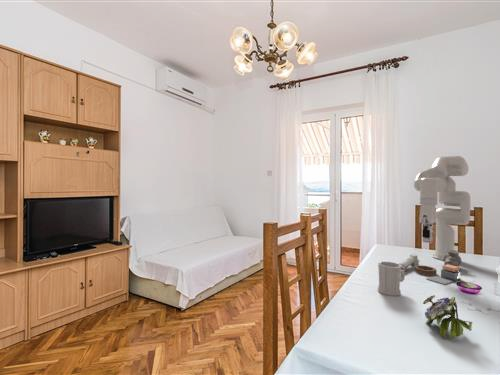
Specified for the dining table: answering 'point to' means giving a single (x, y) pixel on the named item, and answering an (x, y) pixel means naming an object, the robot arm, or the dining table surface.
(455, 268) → the orange square block
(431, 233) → the pill bottle
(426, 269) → the sleeve
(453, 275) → the block
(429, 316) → the passion flower
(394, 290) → the cup
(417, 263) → the white electric toothbrush
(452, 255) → the pipe fitting
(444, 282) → the mat
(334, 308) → the dining table surface
